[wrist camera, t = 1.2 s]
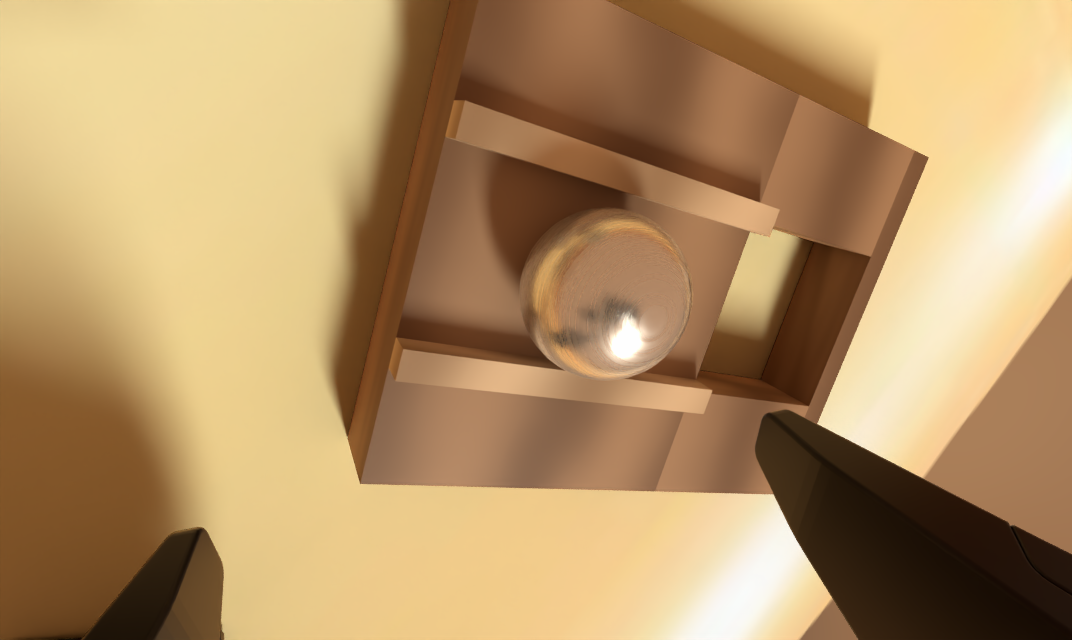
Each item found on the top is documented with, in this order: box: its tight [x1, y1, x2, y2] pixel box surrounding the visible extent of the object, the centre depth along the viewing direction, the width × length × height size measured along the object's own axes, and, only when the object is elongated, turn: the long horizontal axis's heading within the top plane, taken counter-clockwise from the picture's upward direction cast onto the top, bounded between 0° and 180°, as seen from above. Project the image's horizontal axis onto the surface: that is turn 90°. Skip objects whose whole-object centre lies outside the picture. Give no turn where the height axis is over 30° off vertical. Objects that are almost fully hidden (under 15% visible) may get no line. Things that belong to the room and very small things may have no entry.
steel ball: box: [519, 208, 693, 381], centre depth 18 cm, size 5×5×5 cm
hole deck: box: [348, 0, 929, 494], centre depth 23 cm, size 20×16×4 cm
